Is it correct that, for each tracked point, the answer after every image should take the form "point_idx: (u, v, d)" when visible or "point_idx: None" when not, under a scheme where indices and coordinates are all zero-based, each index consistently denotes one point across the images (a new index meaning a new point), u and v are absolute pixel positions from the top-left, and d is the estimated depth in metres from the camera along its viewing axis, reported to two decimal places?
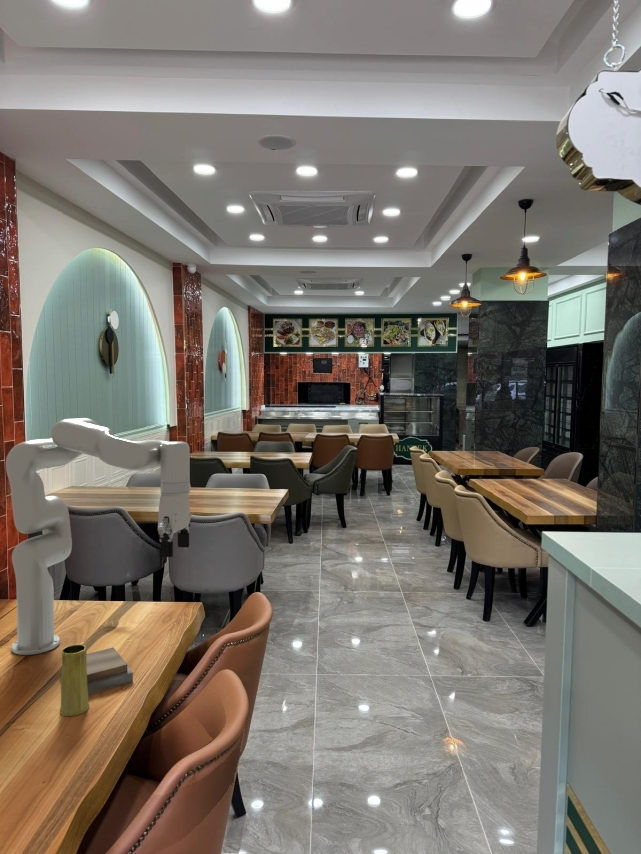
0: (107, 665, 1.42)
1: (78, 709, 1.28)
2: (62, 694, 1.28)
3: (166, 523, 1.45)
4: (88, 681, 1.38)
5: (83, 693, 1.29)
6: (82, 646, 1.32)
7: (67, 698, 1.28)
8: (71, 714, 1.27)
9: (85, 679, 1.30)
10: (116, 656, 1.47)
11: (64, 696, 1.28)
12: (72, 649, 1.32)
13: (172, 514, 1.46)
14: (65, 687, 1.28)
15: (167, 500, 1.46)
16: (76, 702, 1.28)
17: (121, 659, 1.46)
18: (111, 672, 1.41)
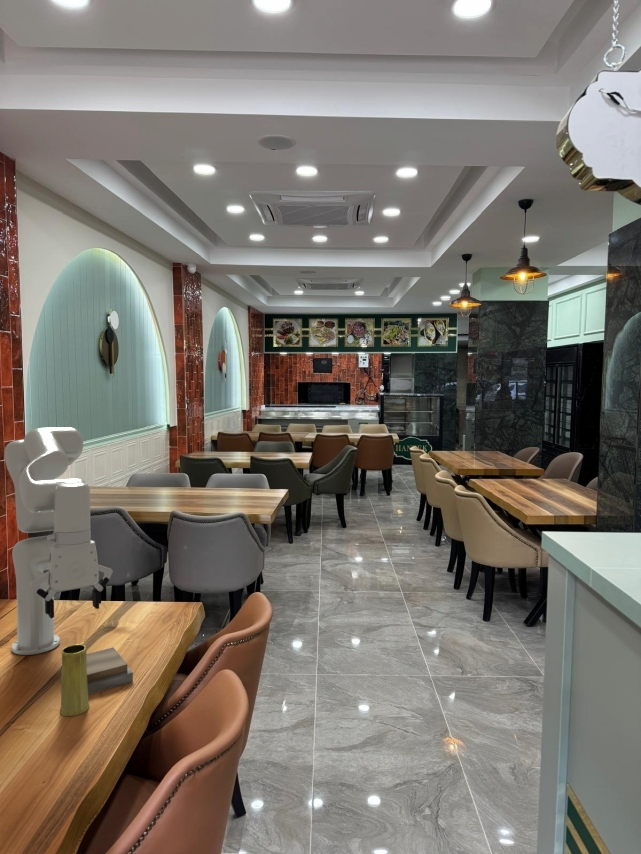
0: (107, 665, 1.42)
1: (78, 709, 1.28)
2: (62, 694, 1.28)
3: None
4: (88, 681, 1.38)
5: (83, 693, 1.29)
6: (82, 646, 1.32)
7: (67, 698, 1.28)
8: (71, 714, 1.27)
9: (85, 679, 1.30)
10: (116, 656, 1.47)
11: (64, 696, 1.28)
12: (72, 649, 1.32)
13: None
14: (65, 687, 1.28)
15: None
16: (76, 702, 1.28)
17: (121, 659, 1.46)
18: (111, 672, 1.41)
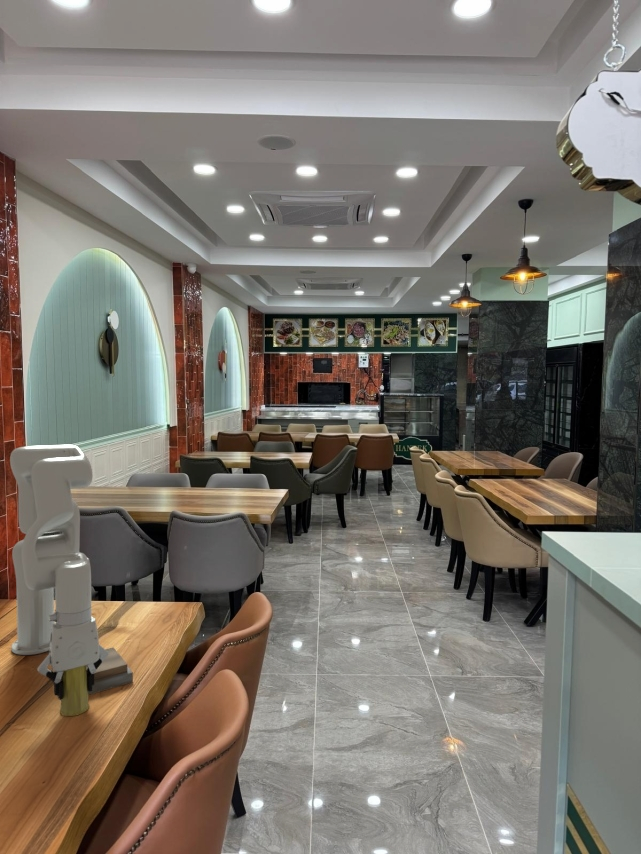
0: (107, 665, 1.42)
1: (78, 709, 1.28)
2: None
3: None
4: None
5: (83, 693, 1.29)
6: None
7: (67, 698, 1.28)
8: (71, 714, 1.27)
9: (85, 679, 1.30)
10: (116, 656, 1.47)
11: (64, 696, 1.28)
12: None
13: None
14: (65, 687, 1.28)
15: None
16: (76, 702, 1.28)
17: (121, 659, 1.46)
18: (111, 672, 1.41)
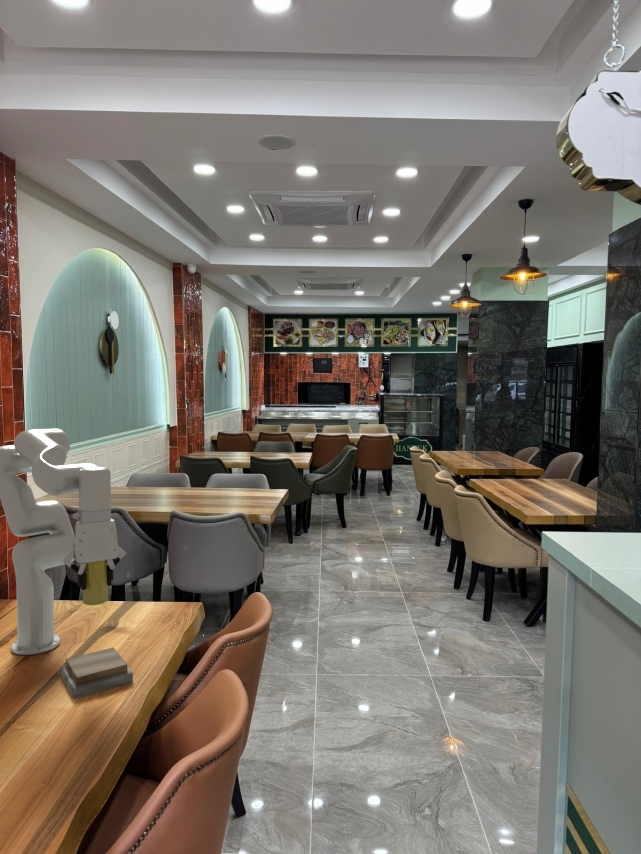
0: (107, 665, 1.42)
1: (99, 599, 1.42)
2: None
3: None
4: (88, 681, 1.38)
5: (103, 585, 1.43)
6: None
7: (89, 589, 1.41)
8: (93, 603, 1.41)
9: (105, 573, 1.43)
10: (116, 656, 1.47)
11: (87, 587, 1.41)
12: None
13: None
14: (87, 579, 1.41)
15: None
16: (97, 593, 1.41)
17: (121, 659, 1.46)
18: (111, 672, 1.41)
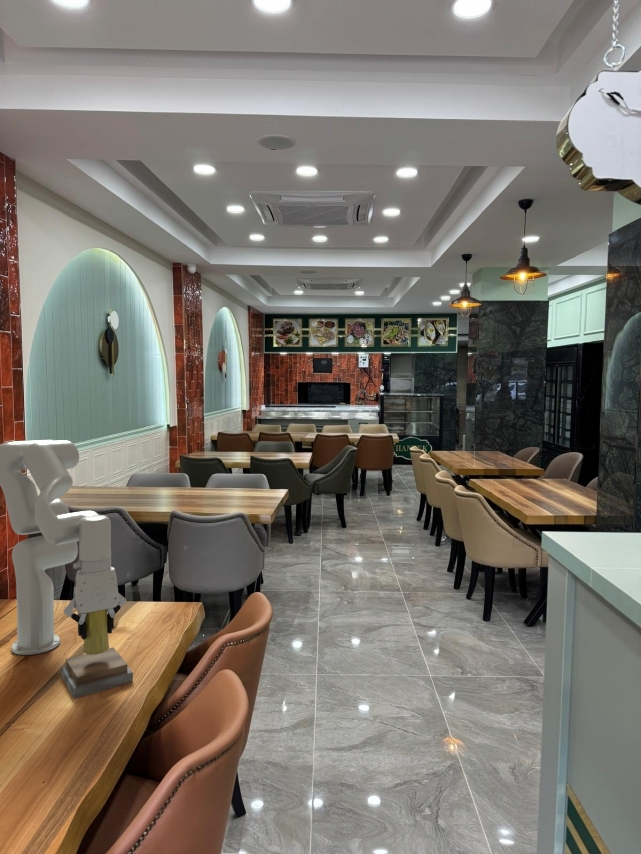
0: (107, 665, 1.42)
1: (100, 648, 1.42)
2: None
3: None
4: (88, 681, 1.38)
5: (104, 634, 1.43)
6: None
7: (90, 638, 1.42)
8: (93, 652, 1.41)
9: (106, 622, 1.44)
10: (116, 656, 1.47)
11: (87, 636, 1.42)
12: None
13: None
14: (88, 628, 1.42)
15: None
16: (98, 642, 1.42)
17: (121, 659, 1.46)
18: (111, 672, 1.41)
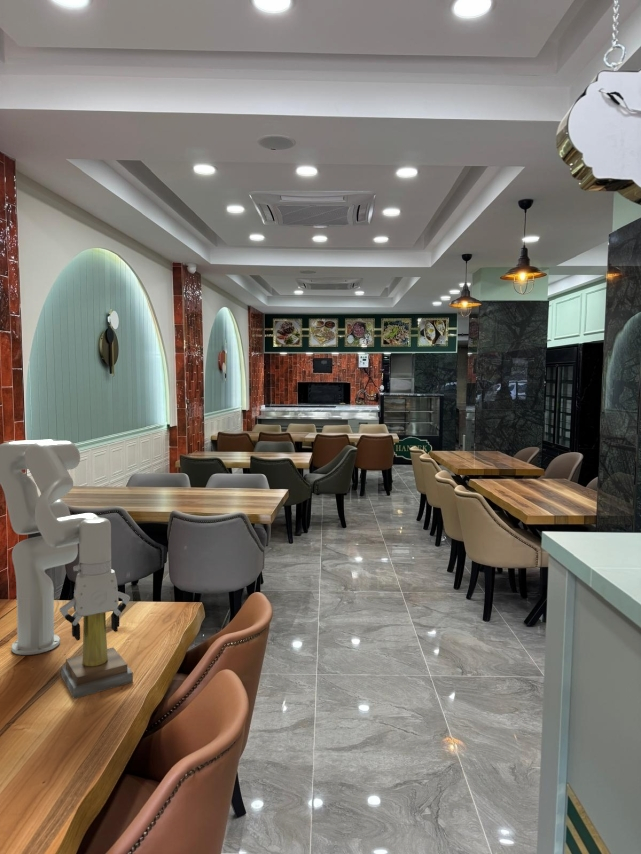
0: (107, 665, 1.42)
1: (99, 660, 1.42)
2: (84, 647, 1.42)
3: None
4: (88, 681, 1.38)
5: (103, 646, 1.43)
6: None
7: (89, 650, 1.42)
8: (92, 665, 1.42)
9: (104, 634, 1.44)
10: (116, 656, 1.47)
11: (86, 648, 1.42)
12: None
13: None
14: (87, 640, 1.42)
15: None
16: (97, 654, 1.42)
17: (121, 659, 1.46)
18: (111, 672, 1.41)
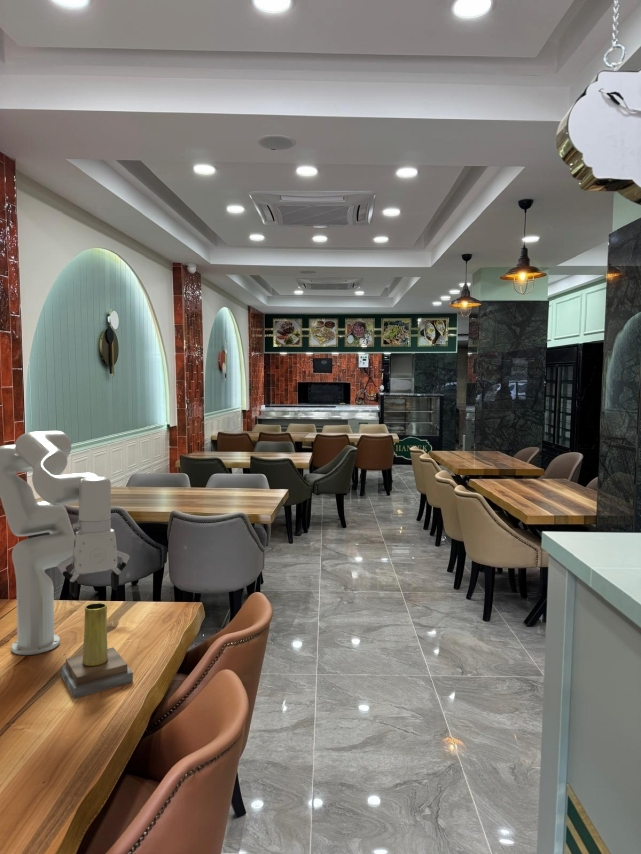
0: (107, 665, 1.42)
1: (99, 660, 1.43)
2: (85, 646, 1.43)
3: None
4: (88, 681, 1.38)
5: (103, 646, 1.44)
6: (102, 604, 1.46)
7: (89, 650, 1.42)
8: (93, 664, 1.42)
9: (105, 633, 1.44)
10: (116, 656, 1.47)
11: (87, 648, 1.42)
12: (93, 607, 1.46)
13: None
14: (87, 639, 1.42)
15: None
16: (97, 653, 1.42)
17: (121, 659, 1.46)
18: (111, 672, 1.41)
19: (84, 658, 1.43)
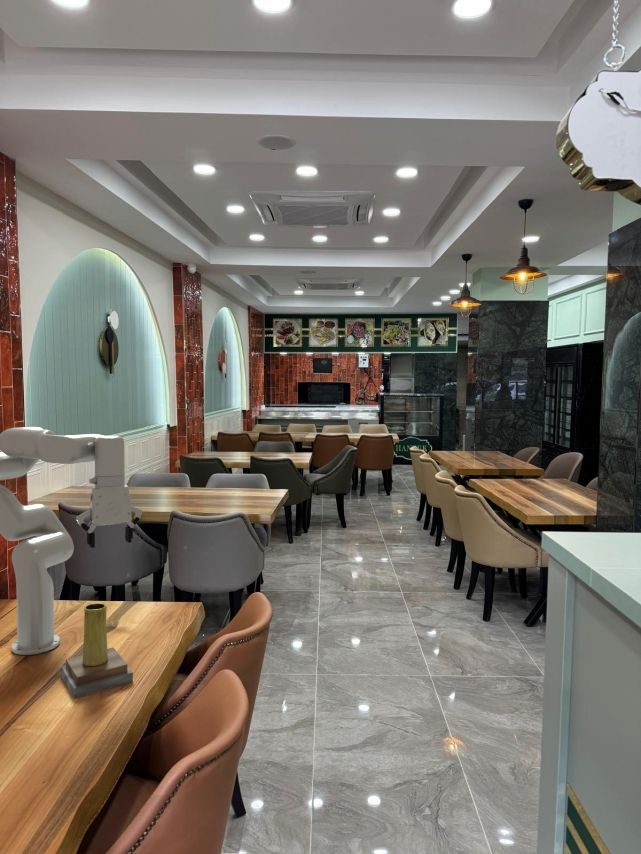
0: (107, 665, 1.42)
1: (99, 660, 1.43)
2: (85, 647, 1.42)
3: None
4: (88, 681, 1.38)
5: (103, 646, 1.44)
6: (102, 604, 1.46)
7: (89, 650, 1.42)
8: (93, 664, 1.42)
9: (105, 633, 1.44)
10: (116, 656, 1.47)
11: (87, 648, 1.42)
12: (92, 607, 1.46)
13: None
14: (87, 640, 1.42)
15: None
16: (97, 654, 1.42)
17: (121, 659, 1.46)
18: (111, 672, 1.41)
19: (84, 658, 1.43)
